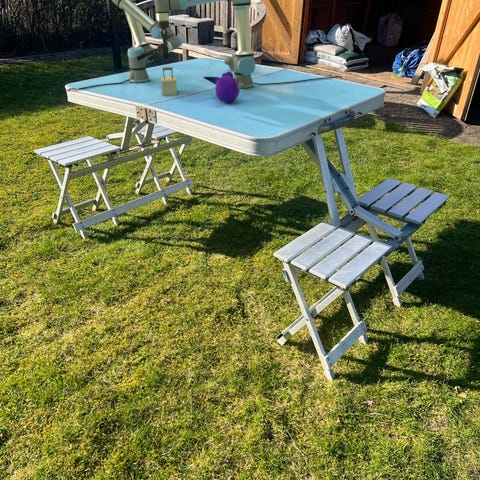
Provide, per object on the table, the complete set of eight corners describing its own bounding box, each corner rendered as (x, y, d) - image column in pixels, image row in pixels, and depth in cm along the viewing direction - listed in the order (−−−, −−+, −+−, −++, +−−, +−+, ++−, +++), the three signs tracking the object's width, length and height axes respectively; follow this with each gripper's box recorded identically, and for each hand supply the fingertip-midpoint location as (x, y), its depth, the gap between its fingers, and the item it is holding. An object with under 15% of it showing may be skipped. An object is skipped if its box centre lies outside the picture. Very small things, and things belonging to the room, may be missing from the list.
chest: (177, 94, 297) (175, 81, 293) (162, 95, 296) (161, 81, 292) (176, 90, 308) (175, 77, 304) (162, 91, 307) (161, 77, 303)
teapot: (228, 72, 362) (227, 52, 355) (221, 70, 371) (220, 50, 364) (250, 69, 372) (250, 50, 364) (243, 67, 380) (243, 48, 373)
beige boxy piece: (175, 81, 292) (174, 67, 288) (161, 81, 291) (159, 68, 287) (175, 77, 304) (174, 64, 300) (161, 77, 303) (159, 65, 298)
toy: (226, 94, 295) (239, 108, 274) (200, 89, 287) (212, 104, 267) (231, 69, 287) (246, 82, 266) (206, 64, 279) (218, 77, 259)
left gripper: (177, 53, 321) (155, 65, 310) (155, 53, 336) (134, 63, 325) (174, 42, 316) (152, 53, 305) (152, 42, 331) (130, 53, 321)
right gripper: (169, 22, 266) (172, 60, 277) (168, 19, 287) (171, 54, 298) (156, 22, 265) (160, 60, 276) (156, 19, 286) (160, 54, 297)
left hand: (143, 59), depth 315 cm, fingers open, 13 cm apart
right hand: (166, 57), depth 287 cm, fingers open, 13 cm apart
